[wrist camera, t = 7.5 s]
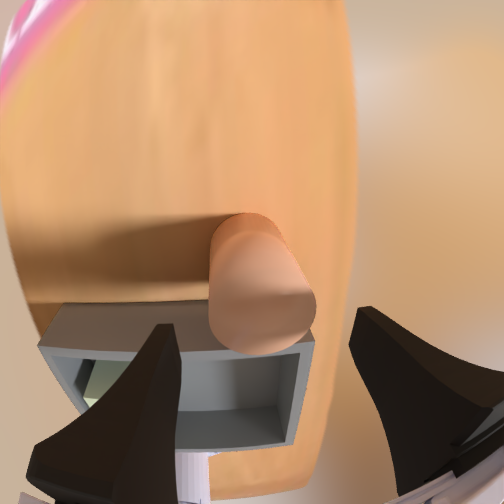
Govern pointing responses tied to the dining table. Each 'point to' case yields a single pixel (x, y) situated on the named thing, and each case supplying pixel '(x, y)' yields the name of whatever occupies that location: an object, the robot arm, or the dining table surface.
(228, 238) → the terracotta cylinder
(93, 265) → the dining table surface
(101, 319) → the tote
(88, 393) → the green block
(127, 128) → the dining table surface
